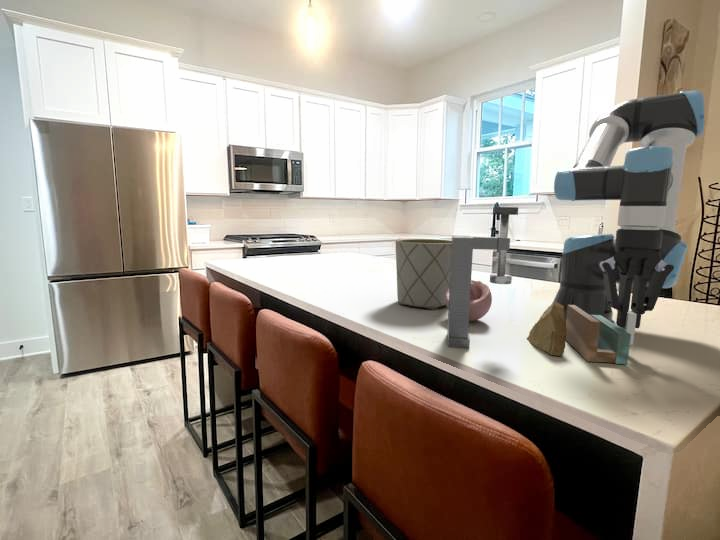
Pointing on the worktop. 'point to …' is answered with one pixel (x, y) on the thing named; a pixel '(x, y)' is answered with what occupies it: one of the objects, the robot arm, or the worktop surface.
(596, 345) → the frame
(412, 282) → the planter
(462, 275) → the press frame
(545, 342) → the rock
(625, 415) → the worktop surface
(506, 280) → the ram
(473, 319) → the mortar and pestle
